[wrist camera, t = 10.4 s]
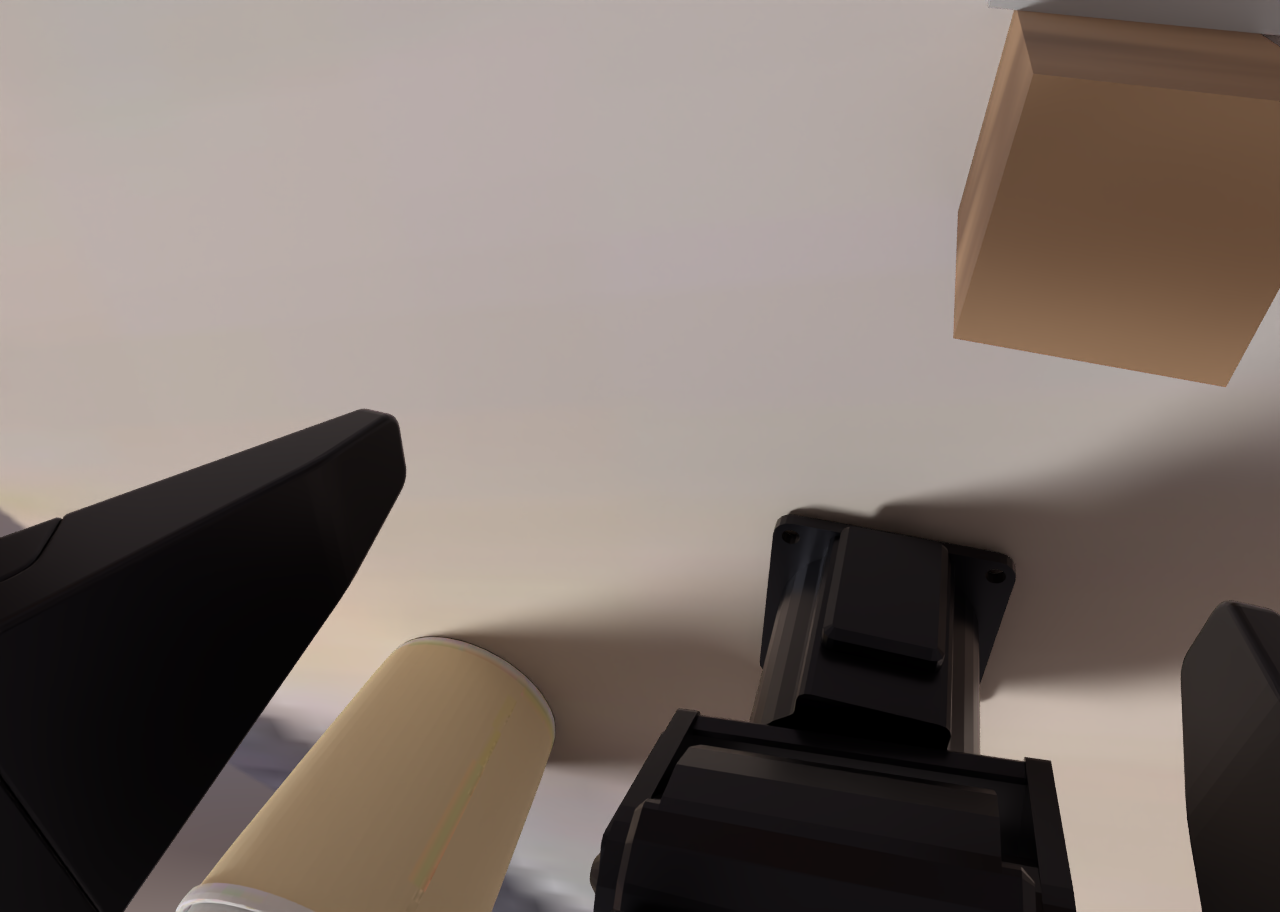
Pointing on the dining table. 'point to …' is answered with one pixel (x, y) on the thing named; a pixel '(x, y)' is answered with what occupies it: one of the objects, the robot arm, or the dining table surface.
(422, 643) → the coffee cup
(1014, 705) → the dining table surface
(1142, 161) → the bracket
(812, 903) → the robot arm
